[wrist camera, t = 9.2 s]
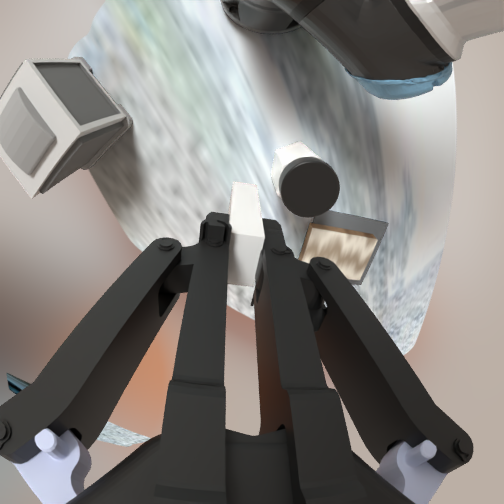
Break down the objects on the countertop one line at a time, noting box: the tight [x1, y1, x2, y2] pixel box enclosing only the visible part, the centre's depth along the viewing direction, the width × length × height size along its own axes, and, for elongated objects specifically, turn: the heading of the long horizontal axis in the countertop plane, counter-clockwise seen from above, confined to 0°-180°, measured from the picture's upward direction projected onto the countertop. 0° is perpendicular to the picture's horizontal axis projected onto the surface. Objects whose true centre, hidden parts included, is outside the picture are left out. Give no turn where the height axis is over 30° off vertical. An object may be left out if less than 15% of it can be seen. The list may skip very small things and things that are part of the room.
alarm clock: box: [0, 57, 133, 199], centre depth 30 cm, size 18×13×18 cm
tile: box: [298, 223, 378, 280], centre depth 54 cm, size 10×2×14 cm
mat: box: [313, 210, 388, 285], centre depth 55 cm, size 16×16×1 cm
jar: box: [271, 141, 340, 217], centre depth 41 cm, size 9×8×12 cm
